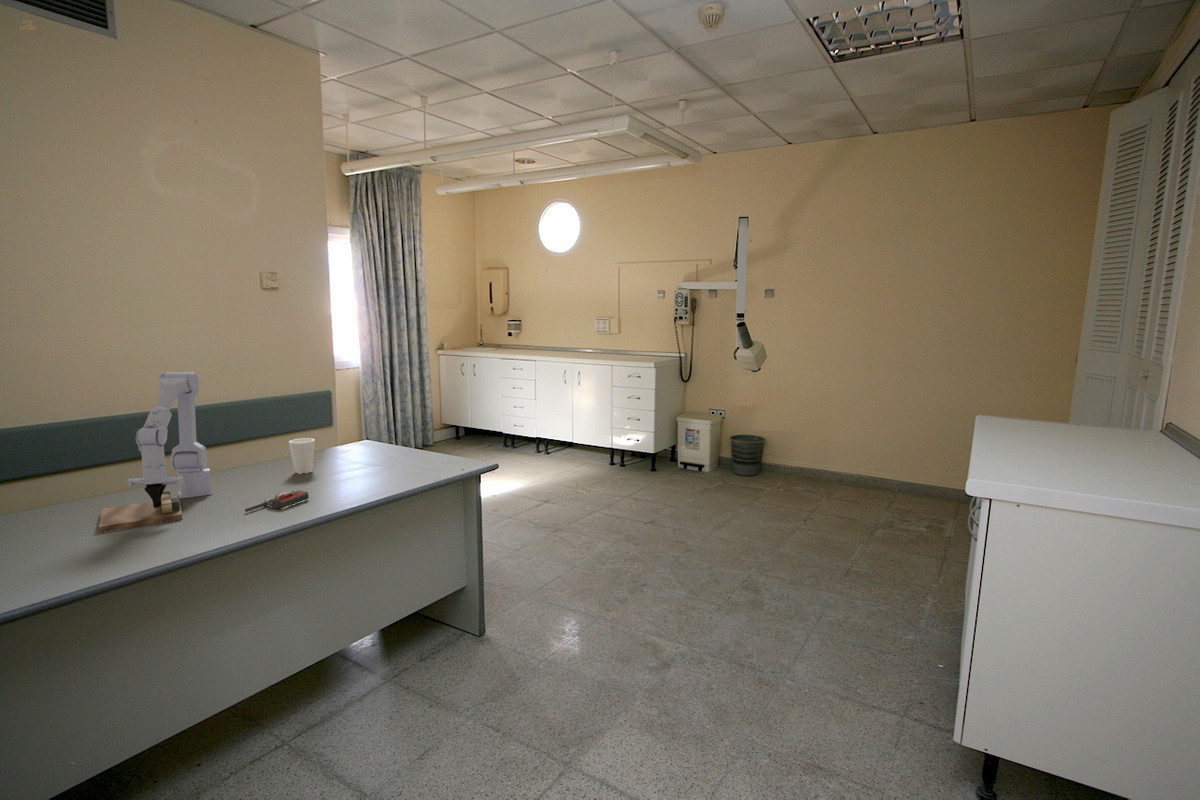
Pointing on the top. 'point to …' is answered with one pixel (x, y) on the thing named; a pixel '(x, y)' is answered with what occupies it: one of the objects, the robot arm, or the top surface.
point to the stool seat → (137, 515)
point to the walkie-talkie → (283, 500)
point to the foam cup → (302, 454)
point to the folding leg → (166, 502)
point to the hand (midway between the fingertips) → (157, 506)
